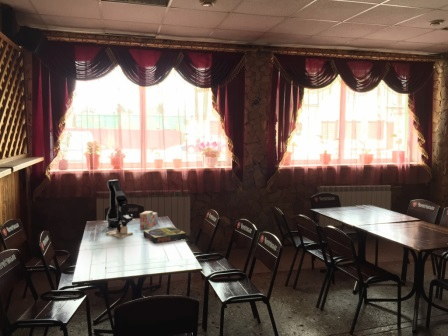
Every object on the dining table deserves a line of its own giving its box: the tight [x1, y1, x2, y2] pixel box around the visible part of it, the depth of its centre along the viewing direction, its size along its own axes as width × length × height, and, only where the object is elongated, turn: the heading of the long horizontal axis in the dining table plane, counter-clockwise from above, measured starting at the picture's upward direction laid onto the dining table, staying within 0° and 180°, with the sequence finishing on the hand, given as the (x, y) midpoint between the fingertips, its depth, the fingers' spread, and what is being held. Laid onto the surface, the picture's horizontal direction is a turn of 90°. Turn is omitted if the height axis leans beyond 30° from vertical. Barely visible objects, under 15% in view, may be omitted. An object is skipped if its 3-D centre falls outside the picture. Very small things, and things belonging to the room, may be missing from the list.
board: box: [105, 229, 134, 239], centre depth 307 cm, size 18×10×2 cm, turn 60°
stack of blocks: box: [139, 210, 159, 230], centre depth 335 cm, size 21×6×12 cm, turn 166°
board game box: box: [142, 225, 187, 245], centre depth 297 cm, size 24×24×5 cm
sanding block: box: [115, 225, 128, 234], centre depth 305 cm, size 7×4×5 cm, turn 60°
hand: (121, 231), depth 305 cm, fingers closed on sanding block, 4 cm apart
